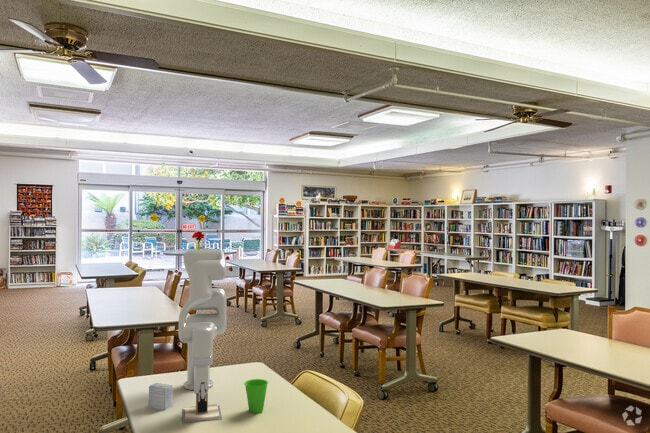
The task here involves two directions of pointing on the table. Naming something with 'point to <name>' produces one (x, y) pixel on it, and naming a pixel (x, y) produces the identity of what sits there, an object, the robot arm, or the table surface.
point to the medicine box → (160, 396)
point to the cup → (256, 394)
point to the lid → (194, 415)
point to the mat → (199, 421)
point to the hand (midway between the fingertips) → (201, 407)
